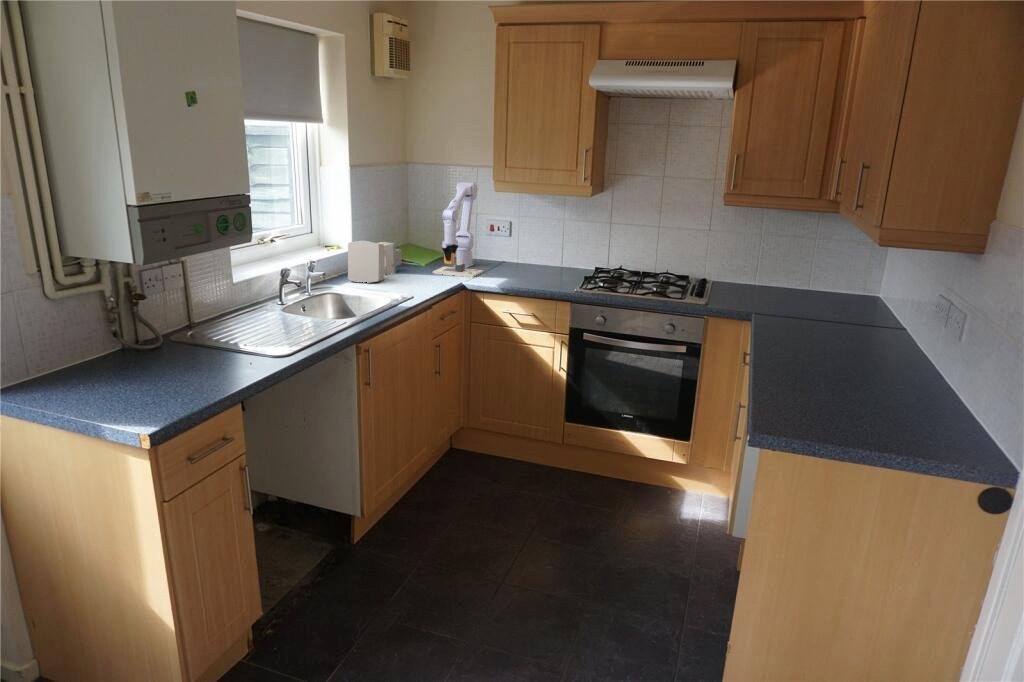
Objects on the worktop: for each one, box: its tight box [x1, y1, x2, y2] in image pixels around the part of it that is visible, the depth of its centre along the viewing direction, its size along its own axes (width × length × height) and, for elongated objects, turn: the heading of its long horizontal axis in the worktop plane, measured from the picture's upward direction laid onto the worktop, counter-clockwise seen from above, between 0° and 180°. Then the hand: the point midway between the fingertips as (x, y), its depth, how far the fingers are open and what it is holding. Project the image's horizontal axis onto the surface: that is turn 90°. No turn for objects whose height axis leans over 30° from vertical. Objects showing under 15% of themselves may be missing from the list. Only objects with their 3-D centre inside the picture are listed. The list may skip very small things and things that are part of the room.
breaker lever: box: [454, 263, 466, 271], centre depth 346 cm, size 5×3×3 cm, turn 160°
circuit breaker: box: [379, 241, 403, 276], centre depth 342 cm, size 8×14×15 cm, turn 148°
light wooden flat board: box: [432, 266, 484, 278], centre depth 347 cm, size 14×22×2 cm, turn 70°
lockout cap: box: [443, 253, 456, 265], centre depth 347 cm, size 4×4×5 cm
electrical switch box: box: [347, 239, 385, 284], centre depth 325 cm, size 15×15×20 cm
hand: (450, 259), depth 347 cm, fingers closed on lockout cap, 4 cm apart
